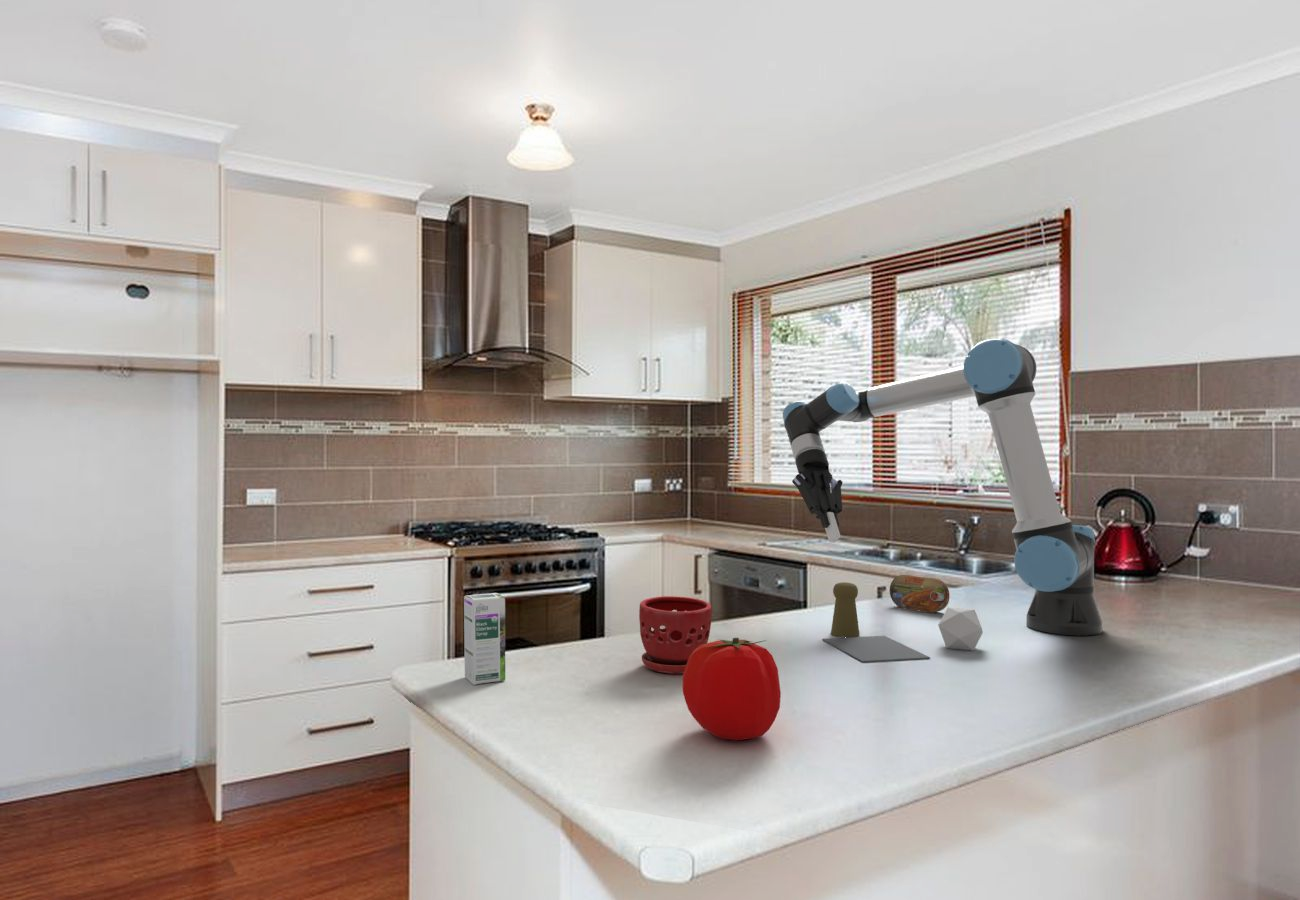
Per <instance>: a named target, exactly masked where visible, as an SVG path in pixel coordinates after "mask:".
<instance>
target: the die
mask: <svg viewBox="0 0 1300 900" xmlns="http://www.w3.org/2000/svg"><path fill="white" fill-rule="evenodd" d="M937 626H938V628H939V629H938V630H939V631H940V634H941V638H942V639H943V642H944V643H943V644H944V645H945V648H946V649H949V650H951V649H952V650H963V651H972V652H973V651H975V649H976V647H977V645H978V643H979V641H980V639H981V637H982V636H983V627H982V624H981V622H980V619H979V617H978V615H977V612H976V610H975V609H974V608H973V609H972V608H960V607H959V608H958V607H949V606H947V608H946V610H945V612H944V614H943V615H942V616H941V619H940V621H939V622H938V625H937Z"/></svg>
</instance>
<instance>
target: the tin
mask: <svg viewBox="0 0 1300 900" xmlns="http://www.w3.org/2000/svg"><path fill="white" fill-rule="evenodd" d="M889 596H890V598H891V600H892V602H893V604H894V605H896V607H898V608H900V609H903V608H906V610H909V609H913V610H912V611H916V610H920V611H919V612H922V611H926V612H925V613H929V612H931V613H930V614H932V613H937V612H941V611H943V610H944V609H945V608H946V607H948V605H949V602H950V590H949V587H948V586H947V585H946V583H945V582H944V581H943V580H942V579H939V578H936V577H928V576H927V577H926V576H918V575H910V574H900V575H898V576H896V577H895V578H893V579H892V581H891V583H890V585H889Z"/></svg>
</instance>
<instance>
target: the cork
mask: <svg viewBox="0 0 1300 900" xmlns="http://www.w3.org/2000/svg"><path fill="white" fill-rule="evenodd" d="M832 593H833V596H834V598H835V600H834V606H833V607H834V608H833V616H832V622H831V631H830V634H831V635H832V636H834V637H836V638H845V637H860V628H859V627H860V626H859V620H858V612H857V611H858V610H857V603H856V598H857V597H858V595H859V588H858V587H857V585H856V584H854V583H851V582H836V583H835V585H834V586H833V589H832Z"/></svg>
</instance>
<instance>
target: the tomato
mask: <svg viewBox="0 0 1300 900" xmlns="http://www.w3.org/2000/svg"><path fill="white" fill-rule="evenodd" d="M762 642H766V640H761V641H754V642H753V640H746V639H742V638H741V639H740V638H739V637H733V638H732V640H726V639H719V640H716V641H715V640H714V641H711V642H707V643H706V644H703V645H700V646H699V647H698V648H696V649H695V650H694V652H693V653H692V654H691V656H690V657H689V658H688V661H687V665H686V668H685V671H684V673H682V674H683V675H682V695H683V698H684V701H685V704H686V707H687V709H688V711H689V713H690V714H691V716H692V718H693V719H694V720H695V721H696V722H697V723H698V725H699V726H700V727H701V728H702V729H703V730H705V731H707V732H709V733H710V734H712V735H714V736H715V737H717V738H718V739H723V740H731V741H742V740H743V741H744V740H748V739H749V740H750V739H754V738H759V737H762V736H764V735H765V734H766V733H767V732H768V731H769V730H770V729H771V727H772V726H773V724H774V723H775V721H776V719H777V717H778V716H777V715H778V713H779V711H780V708H781V696H782V695H781V694H782V692H781V685H780V677H779V675H780V674H779V668H778V666H777V664H776V662H775V660H774V656H773V655H772V653H771V652H770V651H769V650H768V649H767V647H763V646H761V645H759V644H758V643H762Z"/></svg>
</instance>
